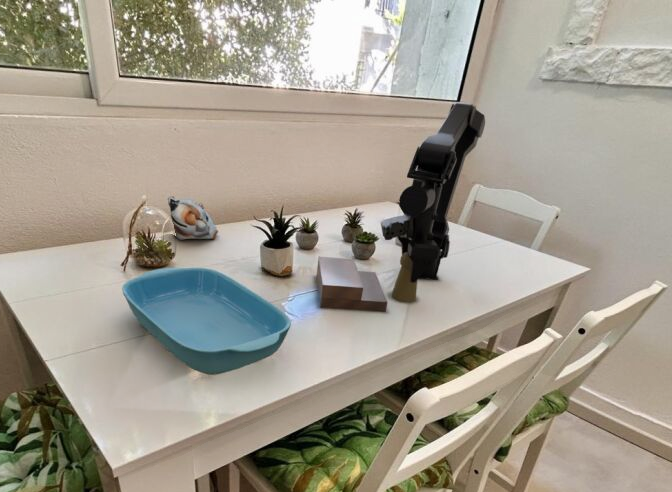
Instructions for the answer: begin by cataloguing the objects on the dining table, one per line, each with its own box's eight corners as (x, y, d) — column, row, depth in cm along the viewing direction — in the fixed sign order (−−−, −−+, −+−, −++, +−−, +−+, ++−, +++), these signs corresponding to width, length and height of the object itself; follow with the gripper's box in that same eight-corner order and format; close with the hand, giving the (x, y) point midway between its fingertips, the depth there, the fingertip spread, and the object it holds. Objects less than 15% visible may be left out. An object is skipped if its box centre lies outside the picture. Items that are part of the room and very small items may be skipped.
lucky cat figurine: (227, 236, 138) (222, 200, 126) (198, 259, 134) (190, 224, 121) (191, 211, 142) (184, 173, 129) (162, 233, 137) (151, 195, 125)
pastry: (298, 276, 118) (299, 261, 116) (275, 279, 115) (276, 265, 113) (280, 263, 124) (281, 249, 122) (258, 266, 121) (258, 252, 119)
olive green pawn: (414, 293, 115) (424, 250, 109) (416, 304, 110) (427, 259, 104) (390, 291, 115) (399, 247, 109) (391, 300, 110) (401, 256, 104)
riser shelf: (373, 281, 120) (377, 260, 116) (385, 312, 105) (390, 289, 102) (316, 277, 119) (318, 256, 115) (320, 307, 104) (322, 284, 101)
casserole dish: (310, 360, 85) (314, 325, 81) (205, 401, 72) (203, 363, 68) (205, 289, 107) (204, 259, 103) (109, 311, 94) (104, 278, 90)
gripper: (380, 193, 108) (369, 258, 116) (395, 215, 92) (381, 288, 101) (427, 197, 108) (412, 261, 117) (449, 219, 93) (430, 291, 102)
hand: (408, 274), depth 109 cm, fingers open, 9 cm apart
